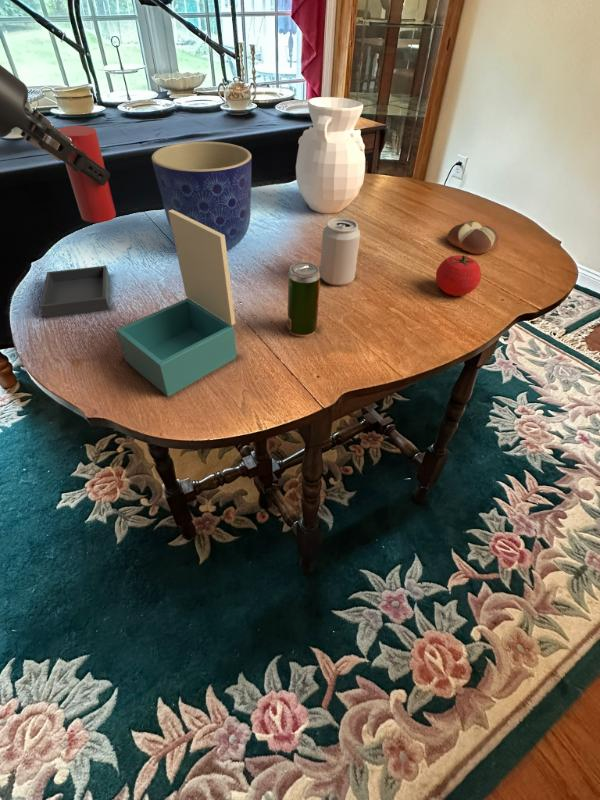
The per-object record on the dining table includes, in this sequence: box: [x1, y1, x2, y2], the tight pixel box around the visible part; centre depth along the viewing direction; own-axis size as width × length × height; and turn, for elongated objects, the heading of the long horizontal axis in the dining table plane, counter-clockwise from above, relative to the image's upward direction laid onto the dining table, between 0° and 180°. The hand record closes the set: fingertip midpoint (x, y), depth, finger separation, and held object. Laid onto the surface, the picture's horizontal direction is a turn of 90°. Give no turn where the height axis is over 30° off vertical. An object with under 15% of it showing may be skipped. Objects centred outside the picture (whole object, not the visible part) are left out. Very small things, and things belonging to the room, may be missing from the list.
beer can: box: [287, 261, 321, 338], centre depth 75 cm, size 5×5×12 cm
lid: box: [168, 210, 236, 326], centre depth 66 cm, size 14×12×1 cm
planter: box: [151, 141, 253, 250], centre depth 97 cm, size 21×21×19 cm
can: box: [319, 217, 361, 287], centre depth 89 cm, size 8×8×12 cm
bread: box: [446, 220, 499, 255], centre depth 106 cm, size 11×11×5 cm
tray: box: [39, 265, 111, 319], centre depth 84 cm, size 11×13×3 cm
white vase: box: [295, 96, 366, 214], centre depth 113 cm, size 19×18×25 cm
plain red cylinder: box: [58, 125, 117, 224], centre depth 65 cm, size 5×5×12 cm
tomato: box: [435, 254, 482, 297], centre depth 88 cm, size 9×9×8 cm
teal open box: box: [115, 297, 237, 397], centre depth 70 cm, size 14×12×6 cm
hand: (99, 173), depth 66 cm, fingers closed on plain red cylinder, 5 cm apart
